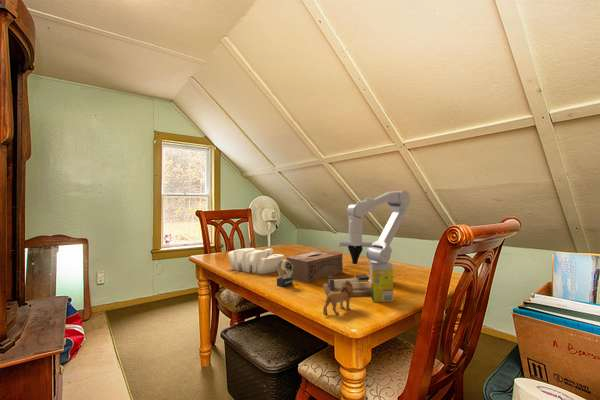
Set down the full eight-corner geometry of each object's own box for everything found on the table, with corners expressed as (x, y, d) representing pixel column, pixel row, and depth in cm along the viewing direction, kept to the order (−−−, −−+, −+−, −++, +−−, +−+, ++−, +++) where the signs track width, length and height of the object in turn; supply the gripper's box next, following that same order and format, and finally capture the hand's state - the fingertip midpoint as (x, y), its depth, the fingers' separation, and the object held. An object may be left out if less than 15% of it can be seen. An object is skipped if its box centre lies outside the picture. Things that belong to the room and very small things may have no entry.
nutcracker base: (367, 286, 121) (367, 273, 121) (375, 295, 109) (375, 281, 109) (323, 287, 120) (323, 274, 120) (327, 296, 108) (326, 282, 108)
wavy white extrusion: (221, 268, 158) (220, 249, 158) (241, 262, 172) (241, 245, 172) (269, 276, 139) (268, 255, 139) (288, 269, 153) (288, 250, 153)
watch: (286, 288, 120) (286, 262, 120) (274, 284, 125) (274, 259, 125) (295, 285, 124) (295, 260, 124) (283, 281, 129) (283, 257, 129)
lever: (329, 285, 112) (331, 271, 112) (327, 282, 116) (329, 268, 117) (367, 291, 112) (370, 277, 112) (364, 287, 117) (366, 274, 117)
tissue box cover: (321, 268, 155) (321, 250, 155) (342, 272, 145) (342, 253, 145) (286, 277, 137) (286, 257, 137) (307, 283, 127) (307, 261, 127)
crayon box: (391, 299, 105) (390, 267, 105) (393, 301, 102) (393, 269, 102) (371, 299, 105) (370, 268, 105) (373, 302, 102) (373, 270, 102)
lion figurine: (343, 302, 102) (343, 277, 102) (356, 306, 98) (356, 280, 98) (318, 315, 91) (318, 287, 91) (332, 319, 87) (332, 290, 87)
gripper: (340, 232, 116) (339, 265, 116) (374, 233, 117) (374, 265, 116) (337, 230, 123) (336, 261, 123) (369, 231, 124) (369, 262, 124)
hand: (354, 263), depth 120 cm, fingers closed
